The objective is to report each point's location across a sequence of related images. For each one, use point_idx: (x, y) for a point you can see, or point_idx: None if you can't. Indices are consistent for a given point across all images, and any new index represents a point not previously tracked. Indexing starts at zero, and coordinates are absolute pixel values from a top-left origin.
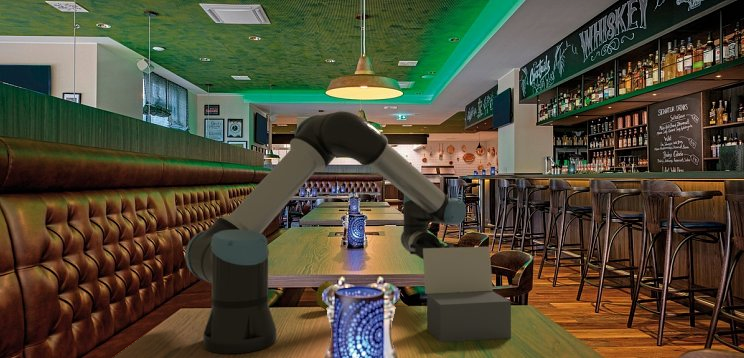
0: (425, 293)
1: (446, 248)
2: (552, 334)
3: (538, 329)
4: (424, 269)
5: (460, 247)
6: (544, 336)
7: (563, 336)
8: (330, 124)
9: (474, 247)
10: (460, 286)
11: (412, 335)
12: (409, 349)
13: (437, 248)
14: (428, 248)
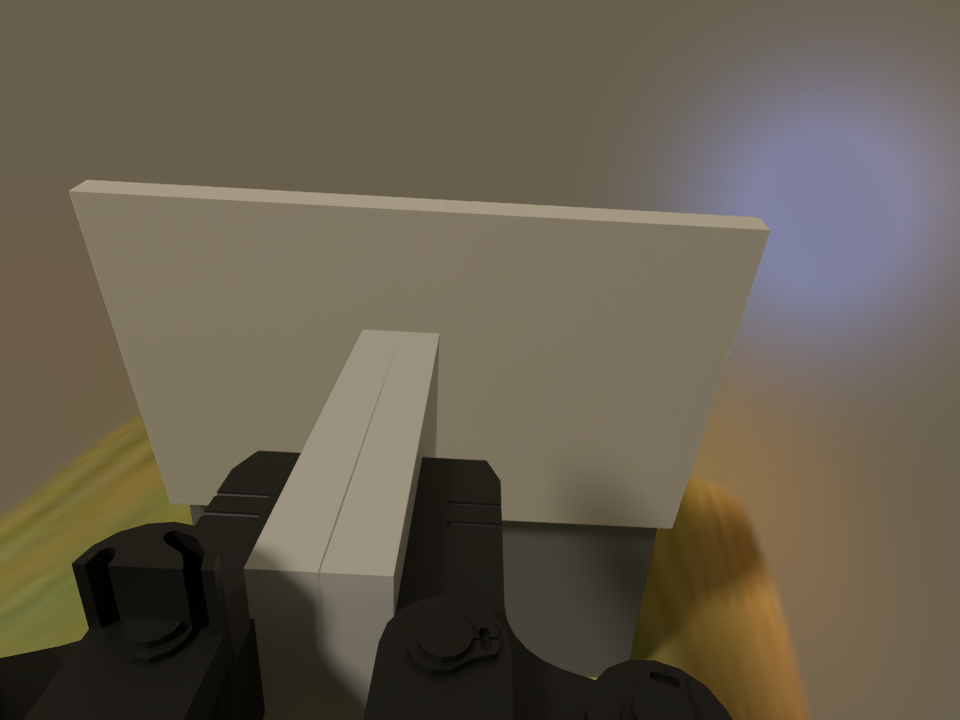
0: (670, 522)
1: (532, 211)
2: (91, 498)
3: (68, 552)
4: (711, 386)
5: (390, 197)
6: (147, 489)
7: (80, 477)
8: None
9: (247, 193)
10: None
11: (708, 602)
12: (710, 491)
13: (622, 213)
14: (712, 216)
